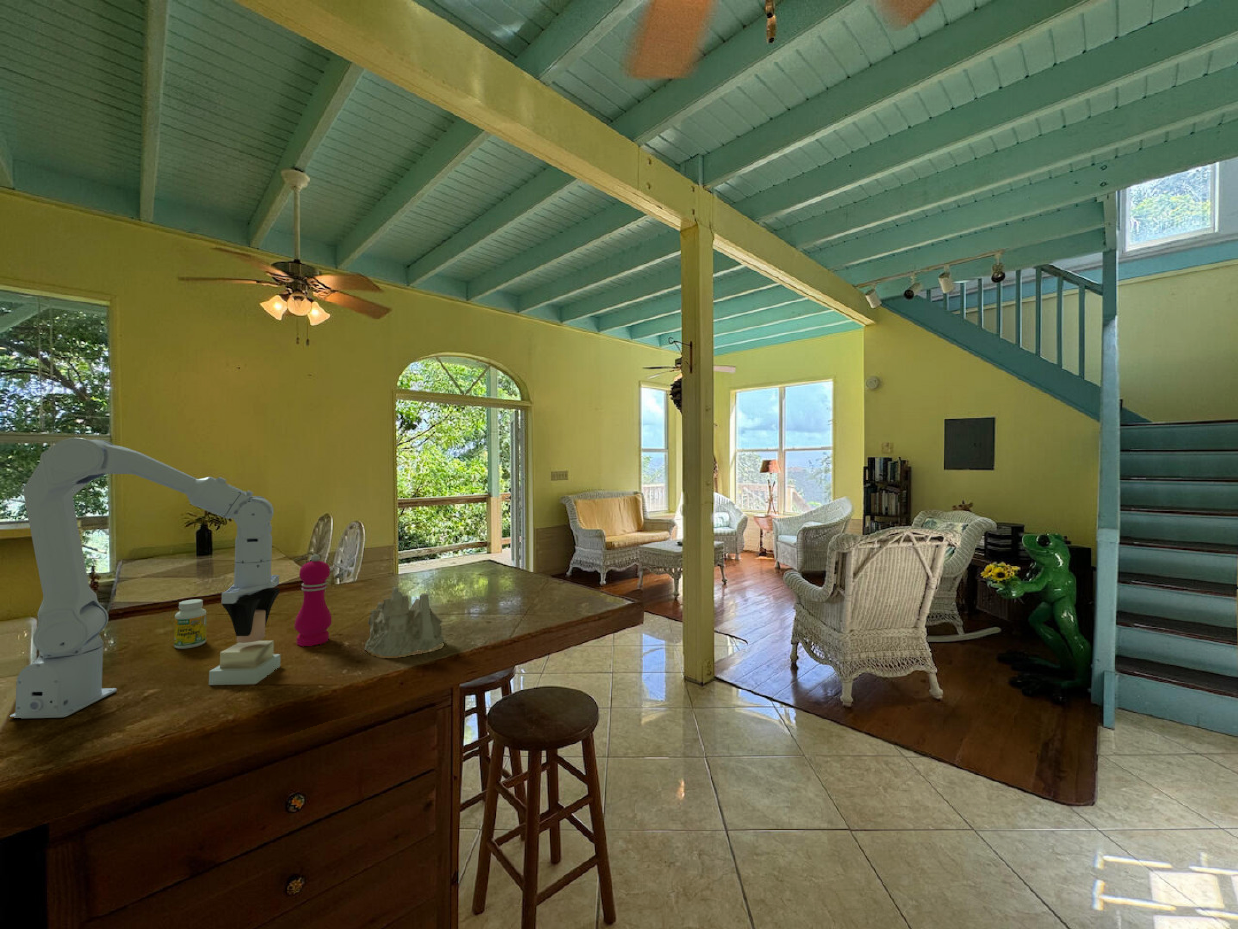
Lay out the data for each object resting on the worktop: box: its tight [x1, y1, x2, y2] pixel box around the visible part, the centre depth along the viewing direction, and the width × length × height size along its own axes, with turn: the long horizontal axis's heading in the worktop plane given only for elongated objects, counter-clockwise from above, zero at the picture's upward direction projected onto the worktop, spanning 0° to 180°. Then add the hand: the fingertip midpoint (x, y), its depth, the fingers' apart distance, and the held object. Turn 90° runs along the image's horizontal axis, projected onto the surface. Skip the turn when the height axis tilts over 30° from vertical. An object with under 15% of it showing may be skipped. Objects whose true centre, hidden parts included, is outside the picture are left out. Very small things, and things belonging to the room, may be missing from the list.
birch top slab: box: [219, 640, 275, 668], centre depth 96 cm, size 6×6×3 cm
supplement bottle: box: [173, 598, 207, 650], centre depth 110 cm, size 5×5×10 cm
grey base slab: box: [208, 653, 281, 686], centre depth 96 cm, size 8×8×3 cm
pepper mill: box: [294, 554, 332, 647], centre depth 114 cm, size 7×7×20 cm
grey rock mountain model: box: [364, 586, 445, 656], centre depth 114 cm, size 16×16×15 cm
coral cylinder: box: [235, 609, 266, 643], centre depth 96 cm, size 4×4×5 cm
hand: (251, 631), depth 96 cm, fingers closed on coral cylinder, 4 cm apart
